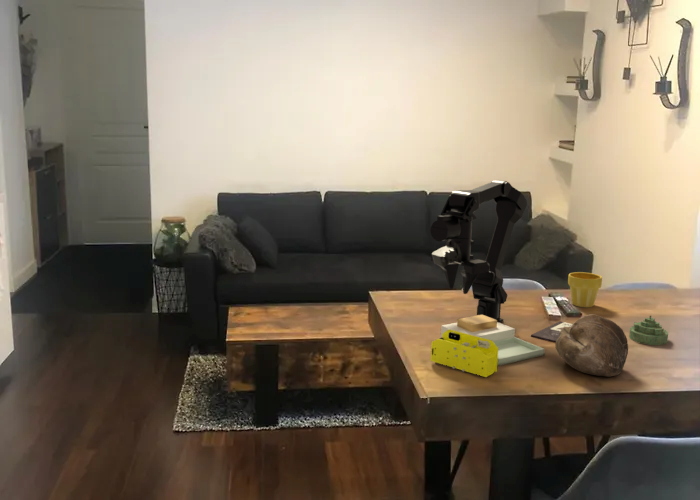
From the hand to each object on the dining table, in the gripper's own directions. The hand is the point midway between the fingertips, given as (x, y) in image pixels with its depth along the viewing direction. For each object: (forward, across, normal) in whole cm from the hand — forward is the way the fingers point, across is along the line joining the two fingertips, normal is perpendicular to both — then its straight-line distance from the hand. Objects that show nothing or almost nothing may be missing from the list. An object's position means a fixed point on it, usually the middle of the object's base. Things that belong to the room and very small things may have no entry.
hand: (458, 291), depth 213 cm
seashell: (+12, +38, +11) cm, 41 cm away
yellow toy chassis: (+12, +23, -17) cm, 31 cm away
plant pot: (+12, -2, +55) cm, 56 cm away
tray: (+12, +21, 0) cm, 24 cm away
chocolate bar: (+13, +15, +26) cm, 33 cm away
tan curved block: (+8, +9, 0) cm, 12 cm away
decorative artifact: (+12, +31, +44) cm, 55 cm away
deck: (+12, +9, 0) cm, 15 cm away
